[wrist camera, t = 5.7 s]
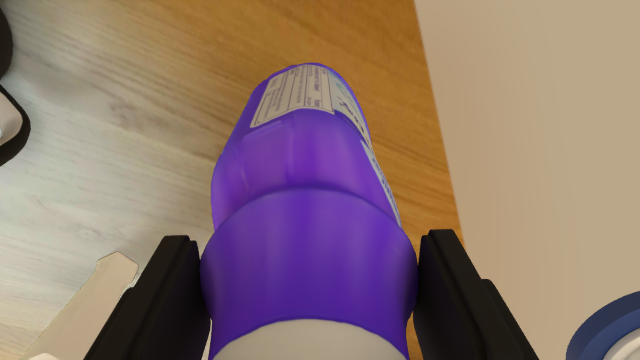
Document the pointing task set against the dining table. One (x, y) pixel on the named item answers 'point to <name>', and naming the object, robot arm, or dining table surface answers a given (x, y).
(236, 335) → the bottle
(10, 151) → the mug
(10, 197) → the dining table surface
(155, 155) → the dining table surface
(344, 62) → the dining table surface
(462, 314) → the robot arm
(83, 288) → the perfume bottle
